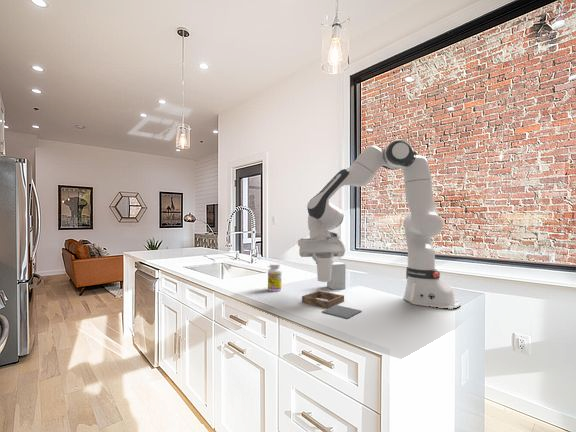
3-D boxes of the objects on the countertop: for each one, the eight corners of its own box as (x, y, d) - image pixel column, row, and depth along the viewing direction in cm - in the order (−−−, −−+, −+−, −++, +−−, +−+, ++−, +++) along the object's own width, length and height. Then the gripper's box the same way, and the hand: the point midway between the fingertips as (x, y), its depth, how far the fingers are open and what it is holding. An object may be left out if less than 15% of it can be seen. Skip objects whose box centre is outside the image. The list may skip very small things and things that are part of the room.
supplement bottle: (265, 289, 150) (265, 263, 150) (274, 287, 154) (275, 262, 154) (274, 292, 145) (274, 265, 145) (284, 290, 150) (284, 264, 150)
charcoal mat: (361, 311, 118) (361, 310, 118) (347, 318, 109) (347, 317, 109) (336, 305, 125) (336, 304, 125) (321, 312, 116) (321, 311, 116)
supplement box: (345, 288, 154) (346, 264, 154) (332, 289, 152) (332, 264, 152) (339, 285, 161) (339, 261, 161) (326, 286, 159) (326, 262, 159)
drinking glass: (330, 282, 126) (330, 259, 126) (314, 281, 129) (314, 258, 128) (333, 278, 133) (333, 256, 132) (318, 277, 135) (318, 255, 134)
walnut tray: (344, 301, 131) (344, 295, 131) (328, 308, 121) (328, 302, 121) (318, 295, 140) (319, 290, 140) (302, 302, 130) (302, 296, 130)
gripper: (298, 234, 136) (300, 259, 127) (342, 234, 138) (348, 258, 129) (296, 243, 141) (299, 268, 131) (339, 242, 143) (345, 267, 133)
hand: (324, 263), depth 130 cm, fingers closed on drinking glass, 4 cm apart
